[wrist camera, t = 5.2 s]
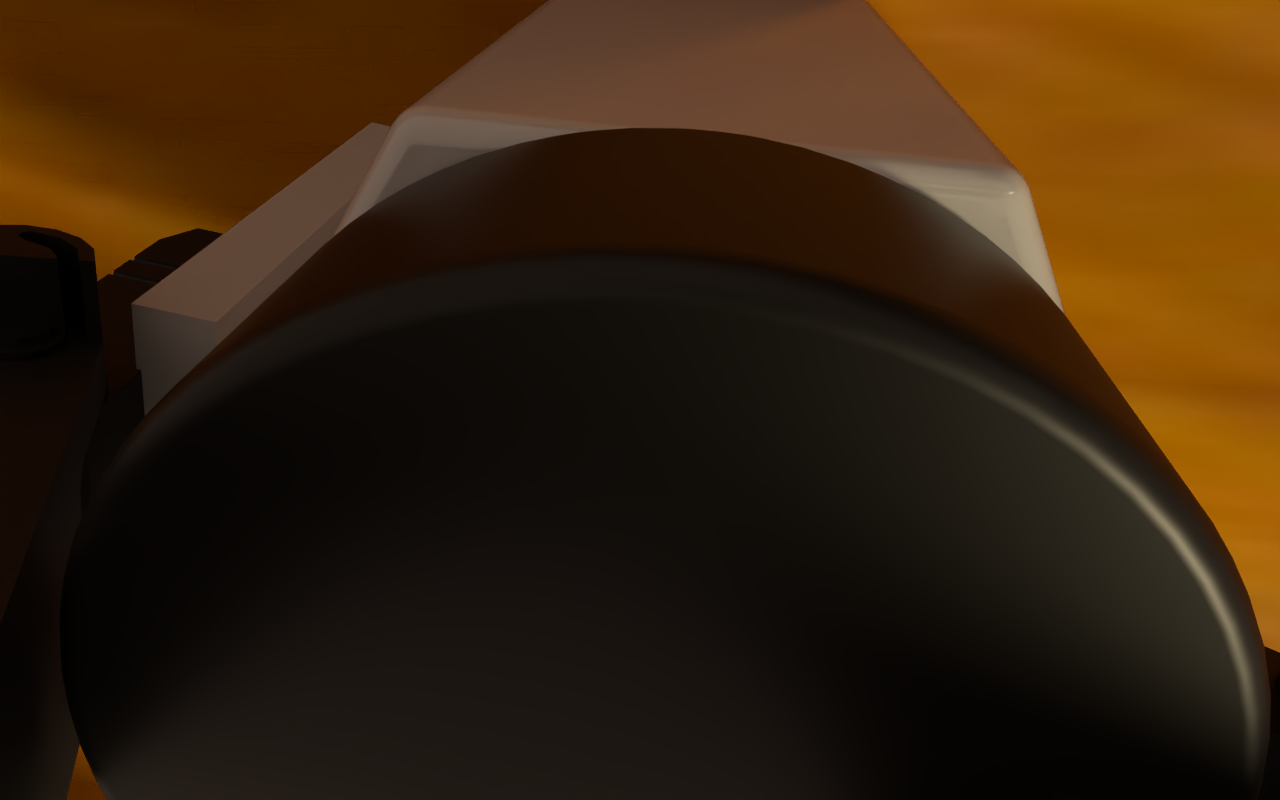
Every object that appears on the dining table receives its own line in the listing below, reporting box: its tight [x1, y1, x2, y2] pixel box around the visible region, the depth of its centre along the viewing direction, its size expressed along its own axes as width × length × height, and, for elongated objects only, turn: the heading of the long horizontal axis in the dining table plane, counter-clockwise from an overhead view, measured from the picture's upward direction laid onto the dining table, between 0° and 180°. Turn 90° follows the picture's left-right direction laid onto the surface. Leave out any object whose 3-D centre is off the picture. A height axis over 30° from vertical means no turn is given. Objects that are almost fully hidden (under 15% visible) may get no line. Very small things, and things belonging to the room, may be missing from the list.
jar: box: [59, 0, 1271, 800], centre depth 11 cm, size 9×8×12 cm
